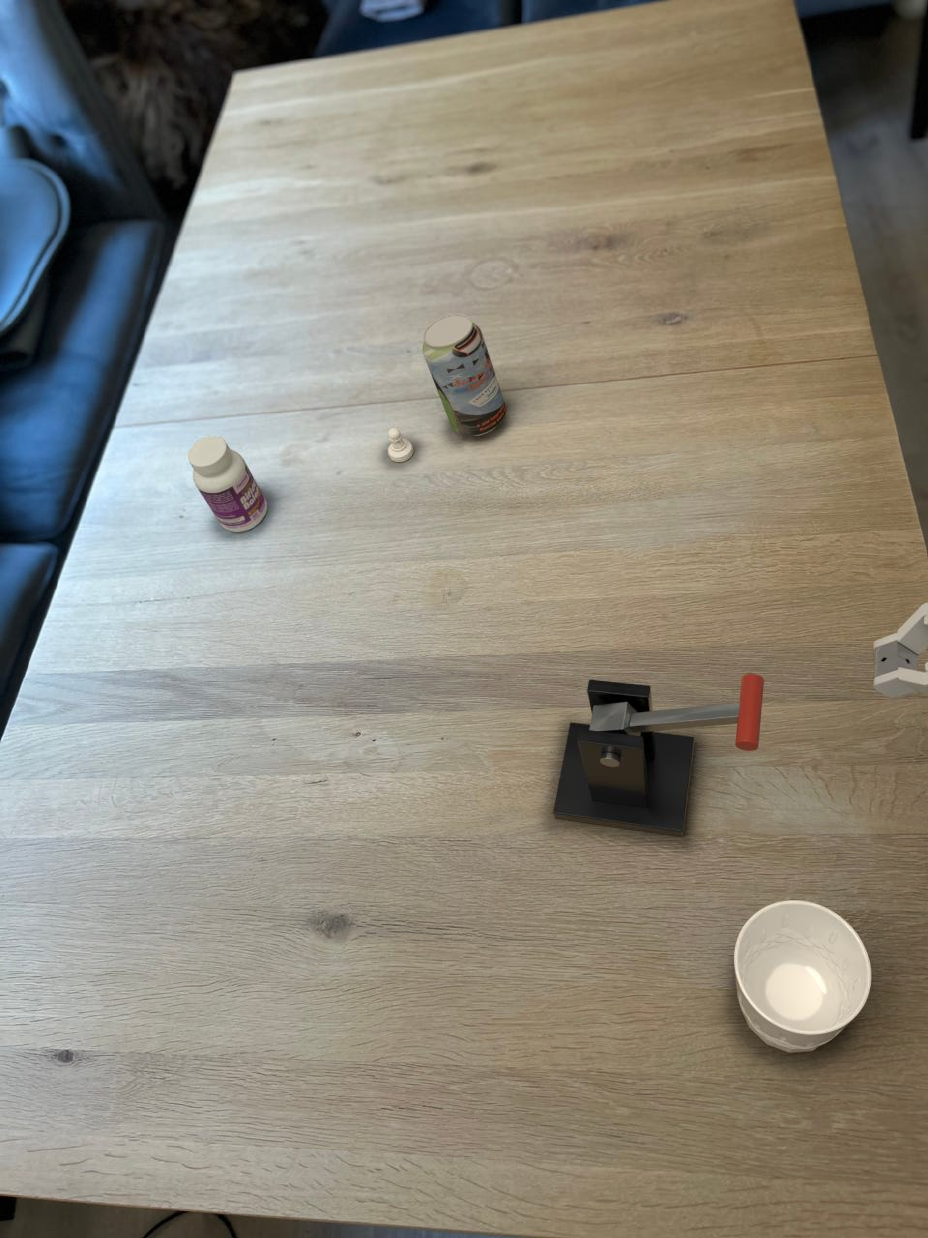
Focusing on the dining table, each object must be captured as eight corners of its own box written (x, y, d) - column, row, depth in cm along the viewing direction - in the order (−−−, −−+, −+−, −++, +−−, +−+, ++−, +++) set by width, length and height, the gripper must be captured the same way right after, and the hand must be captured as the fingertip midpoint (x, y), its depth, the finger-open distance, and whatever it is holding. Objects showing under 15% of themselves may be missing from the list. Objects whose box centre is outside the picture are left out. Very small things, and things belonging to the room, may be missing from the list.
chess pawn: (410, 463, 102) (402, 439, 100) (387, 462, 103) (378, 439, 100) (416, 444, 104) (407, 420, 101) (392, 443, 104) (384, 420, 101)
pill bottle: (267, 529, 101) (231, 466, 93) (218, 538, 102) (178, 476, 94) (270, 489, 104) (234, 425, 96) (222, 498, 105) (183, 435, 97)
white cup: (852, 1071, 65) (874, 1044, 57) (728, 1053, 67) (732, 1024, 59) (848, 950, 69) (868, 907, 61) (731, 936, 71) (736, 893, 63)
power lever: (770, 686, 66) (755, 668, 65) (764, 753, 64) (749, 737, 62) (612, 703, 74) (596, 688, 72) (602, 764, 71) (585, 750, 70)
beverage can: (482, 453, 101) (458, 365, 91) (431, 425, 105) (403, 337, 95) (522, 414, 103) (502, 324, 93) (470, 388, 107) (446, 298, 97)
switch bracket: (694, 743, 80) (693, 670, 70) (682, 837, 76) (680, 775, 66) (571, 728, 83) (554, 657, 73) (554, 818, 79) (533, 756, 69)
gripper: (1078, 382, 49) (845, 499, 60) (1132, 758, 39) (839, 819, 50) (1148, 445, 52) (912, 547, 62) (1216, 814, 41) (920, 861, 52)
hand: (880, 670), depth 56 cm, fingers closed
